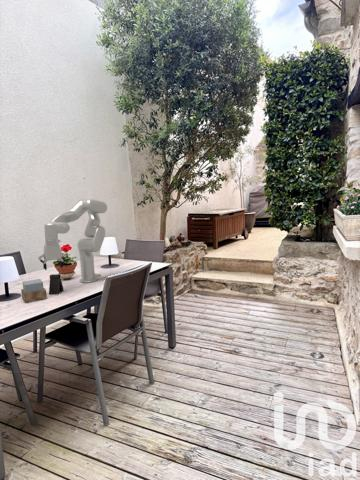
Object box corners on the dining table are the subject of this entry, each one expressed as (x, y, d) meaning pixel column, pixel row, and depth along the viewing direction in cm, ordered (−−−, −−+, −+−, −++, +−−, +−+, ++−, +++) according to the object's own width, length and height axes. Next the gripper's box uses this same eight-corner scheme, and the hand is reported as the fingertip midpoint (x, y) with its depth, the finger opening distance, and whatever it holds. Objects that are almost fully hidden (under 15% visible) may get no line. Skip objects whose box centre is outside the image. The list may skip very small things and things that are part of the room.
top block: (40, 286, 191) (40, 278, 191) (43, 290, 183) (42, 282, 182) (23, 289, 186) (22, 281, 185) (25, 293, 177) (24, 285, 177)
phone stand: (55, 290, 201) (53, 272, 199) (63, 290, 201) (62, 272, 199) (48, 294, 192) (47, 276, 191) (58, 294, 192) (56, 276, 190)
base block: (42, 294, 194) (41, 285, 193) (46, 299, 184) (46, 290, 183) (22, 298, 187) (21, 289, 186) (25, 303, 177) (24, 294, 176)
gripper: (64, 240, 200) (65, 266, 202) (36, 243, 190) (37, 269, 192) (67, 241, 194) (68, 267, 196) (38, 244, 184) (40, 271, 186)
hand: (53, 268), depth 194 cm, fingers open, 9 cm apart
